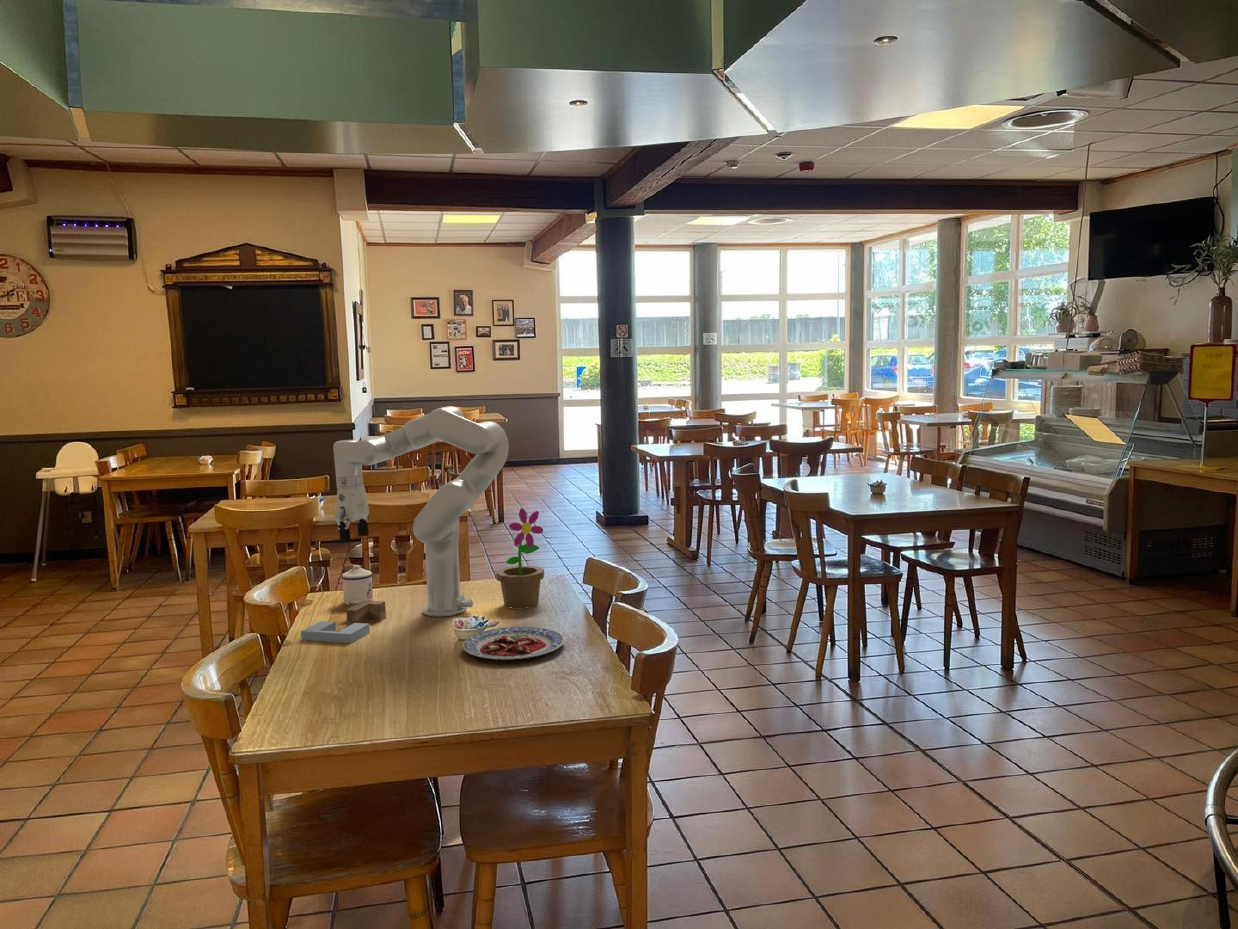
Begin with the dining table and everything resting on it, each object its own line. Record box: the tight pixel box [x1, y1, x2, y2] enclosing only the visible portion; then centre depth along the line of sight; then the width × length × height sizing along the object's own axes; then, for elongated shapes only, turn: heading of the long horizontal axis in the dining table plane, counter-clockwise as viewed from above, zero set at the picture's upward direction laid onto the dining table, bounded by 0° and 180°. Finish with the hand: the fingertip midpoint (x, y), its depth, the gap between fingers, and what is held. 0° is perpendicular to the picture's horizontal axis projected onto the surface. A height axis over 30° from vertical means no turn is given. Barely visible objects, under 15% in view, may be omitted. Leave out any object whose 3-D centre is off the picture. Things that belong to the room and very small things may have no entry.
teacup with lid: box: [341, 564, 374, 606], centre depth 280 cm, size 12×9×12 cm
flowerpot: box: [495, 507, 545, 609], centre depth 271 cm, size 14×14×30 cm
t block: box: [345, 600, 387, 627], centre depth 257 cm, size 10×10×5 cm
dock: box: [300, 620, 371, 644], centre depth 245 cm, size 15×10×2 cm, turn 76°
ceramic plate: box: [462, 626, 565, 661], centre depth 231 cm, size 26×26×3 cm
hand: (354, 538), depth 268 cm, fingers open, 9 cm apart
